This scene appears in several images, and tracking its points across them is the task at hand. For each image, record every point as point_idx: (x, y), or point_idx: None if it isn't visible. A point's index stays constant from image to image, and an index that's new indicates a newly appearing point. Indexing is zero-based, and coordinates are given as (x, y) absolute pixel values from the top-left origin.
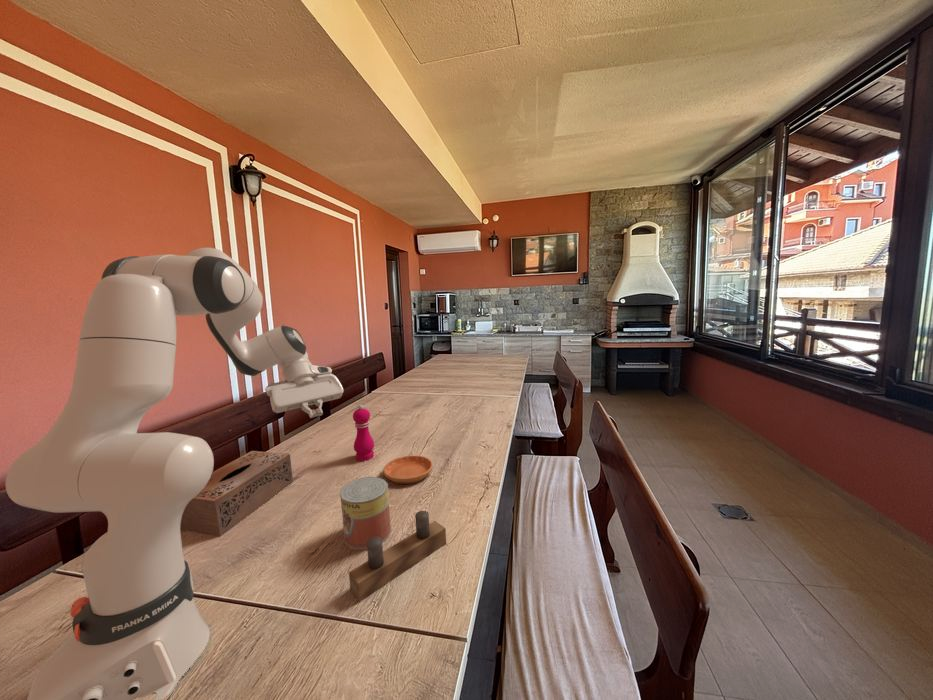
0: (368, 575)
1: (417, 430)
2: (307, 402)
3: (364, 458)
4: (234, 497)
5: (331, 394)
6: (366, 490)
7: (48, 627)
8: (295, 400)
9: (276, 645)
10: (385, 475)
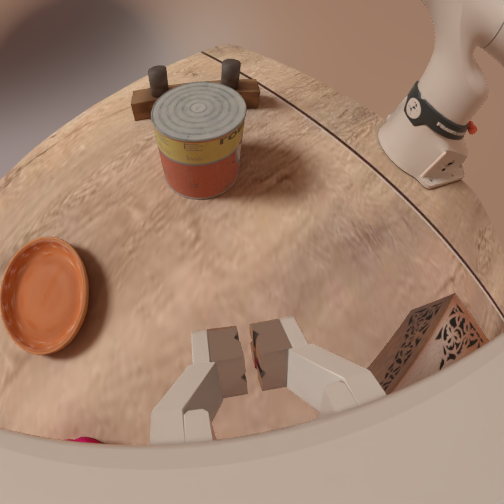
0: (243, 80)
1: None
2: (336, 411)
3: (94, 442)
4: (425, 328)
5: (22, 436)
6: (197, 102)
7: (491, 246)
8: (471, 375)
9: (325, 104)
10: (87, 298)
